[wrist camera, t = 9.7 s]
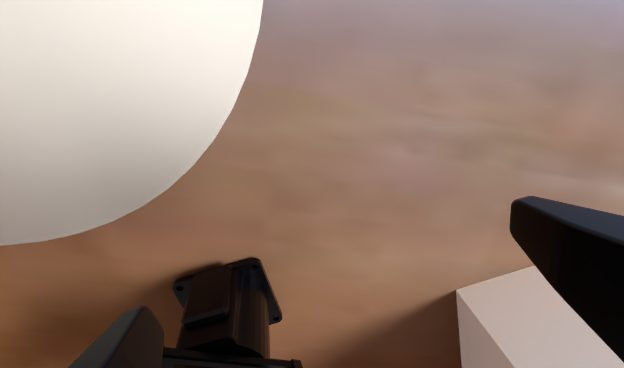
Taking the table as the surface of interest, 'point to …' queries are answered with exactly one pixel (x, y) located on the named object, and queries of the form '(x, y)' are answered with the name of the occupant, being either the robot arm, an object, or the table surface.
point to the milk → (525, 326)
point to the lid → (110, 103)
